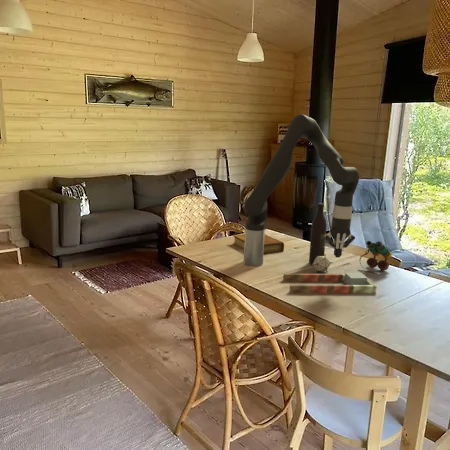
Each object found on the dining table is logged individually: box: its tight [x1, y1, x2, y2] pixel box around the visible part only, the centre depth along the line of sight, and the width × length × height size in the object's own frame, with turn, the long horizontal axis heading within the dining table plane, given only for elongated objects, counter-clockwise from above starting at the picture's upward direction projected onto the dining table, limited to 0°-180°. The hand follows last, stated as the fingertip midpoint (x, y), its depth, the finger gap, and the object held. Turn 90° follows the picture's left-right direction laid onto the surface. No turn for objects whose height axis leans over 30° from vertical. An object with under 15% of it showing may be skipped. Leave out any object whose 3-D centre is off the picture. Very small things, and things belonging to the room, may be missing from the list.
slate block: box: [344, 272, 368, 285], centre depth 190 cm, size 7×7×4 cm
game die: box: [310, 253, 333, 274], centre depth 206 cm, size 9×8×10 cm
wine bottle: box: [308, 202, 328, 265], centre depth 215 cm, size 7×7×30 cm
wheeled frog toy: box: [359, 240, 393, 274], centre depth 209 cm, size 14×14×15 cm
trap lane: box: [282, 273, 378, 294], centre depth 187 cm, size 36×15×3 cm, turn 94°
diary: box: [232, 233, 285, 255], centre depth 243 cm, size 23×19×6 cm
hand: (337, 256), depth 185 cm, fingers closed
